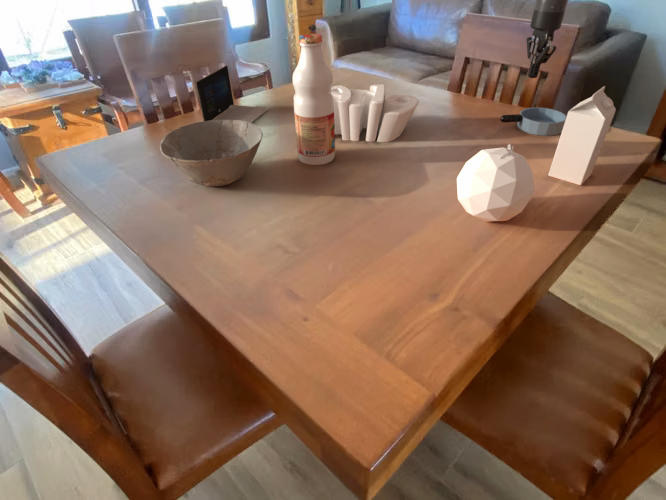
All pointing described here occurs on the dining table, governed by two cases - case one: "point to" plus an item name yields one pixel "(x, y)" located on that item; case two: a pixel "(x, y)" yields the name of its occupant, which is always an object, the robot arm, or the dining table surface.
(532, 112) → the pan
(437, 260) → the dining table surface
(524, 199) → the geodesic sphere
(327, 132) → the fruit juice
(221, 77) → the laptop
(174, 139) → the ceramic bowl
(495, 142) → the dining table surface
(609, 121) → the milk carton
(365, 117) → the wavy white extrusion
